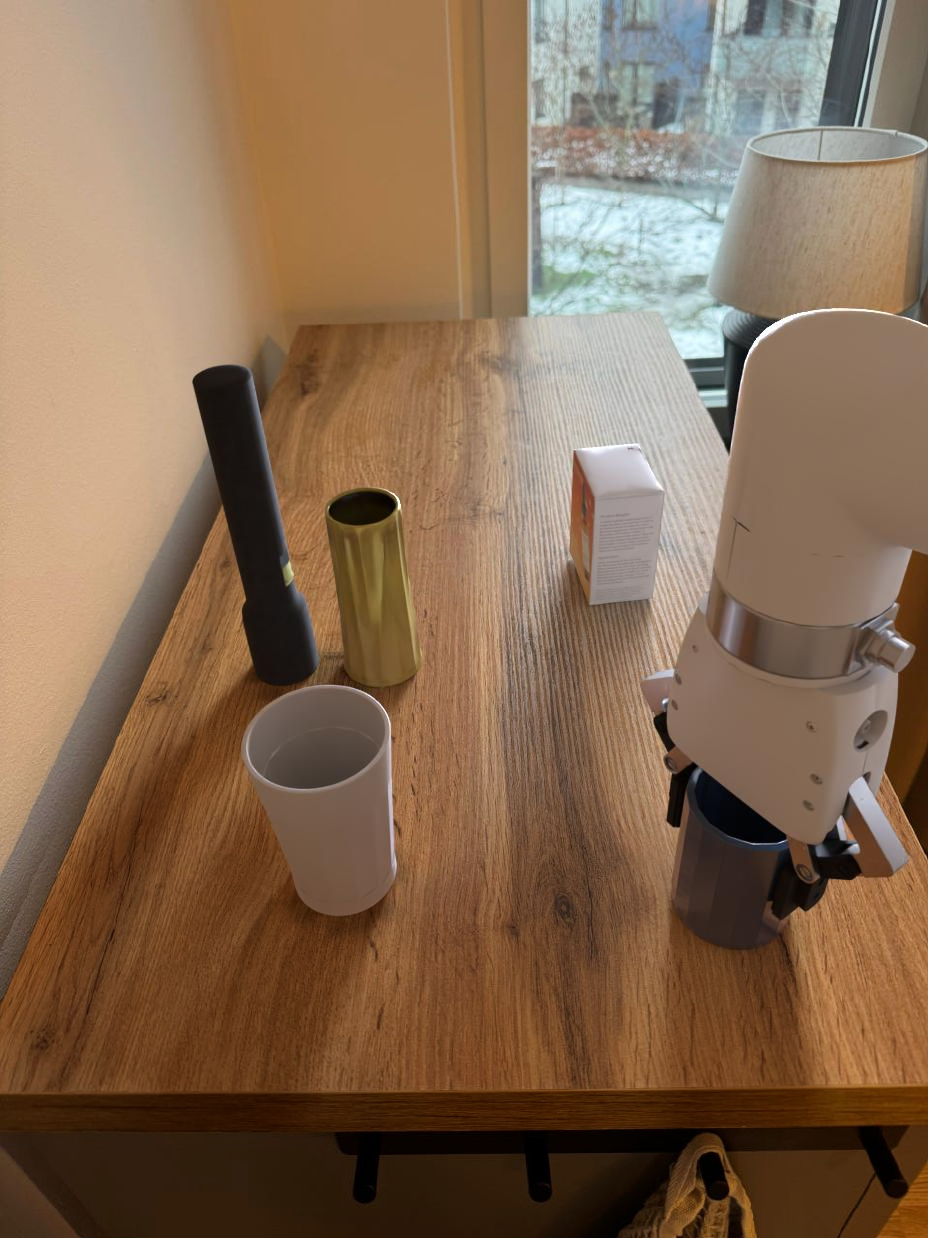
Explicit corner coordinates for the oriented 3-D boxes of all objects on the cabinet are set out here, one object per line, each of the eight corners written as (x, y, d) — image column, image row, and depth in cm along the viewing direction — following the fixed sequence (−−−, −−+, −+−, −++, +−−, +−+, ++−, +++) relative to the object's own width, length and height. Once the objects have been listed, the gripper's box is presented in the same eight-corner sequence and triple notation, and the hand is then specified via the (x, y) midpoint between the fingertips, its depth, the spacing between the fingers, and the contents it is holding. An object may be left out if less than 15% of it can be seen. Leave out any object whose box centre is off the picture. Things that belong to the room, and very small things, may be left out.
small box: (568, 552, 82) (571, 447, 75) (630, 546, 82) (638, 440, 75) (587, 607, 76) (592, 498, 69) (654, 600, 76) (665, 490, 69)
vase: (404, 696, 68) (384, 537, 59) (330, 679, 70) (301, 522, 61) (434, 645, 73) (420, 489, 64) (364, 630, 75) (341, 477, 66)
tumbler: (797, 872, 55) (827, 771, 49) (778, 967, 50) (809, 868, 45) (686, 837, 57) (702, 737, 52) (658, 925, 53) (673, 826, 47)
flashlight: (243, 680, 71) (302, 691, 69) (164, 388, 56) (238, 395, 54) (272, 639, 74) (329, 649, 73) (205, 355, 59) (275, 361, 58)
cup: (256, 907, 55) (212, 772, 47) (317, 806, 61) (286, 672, 53) (377, 944, 53) (351, 809, 45) (429, 837, 58) (413, 701, 51)
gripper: (1039, 675, 36) (919, 930, 47) (706, 497, 47) (673, 737, 59) (925, 764, 33) (825, 1015, 44) (597, 550, 44) (584, 793, 55)
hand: (739, 854), depth 51 cm, fingers closed on tumbler, 6 cm apart
